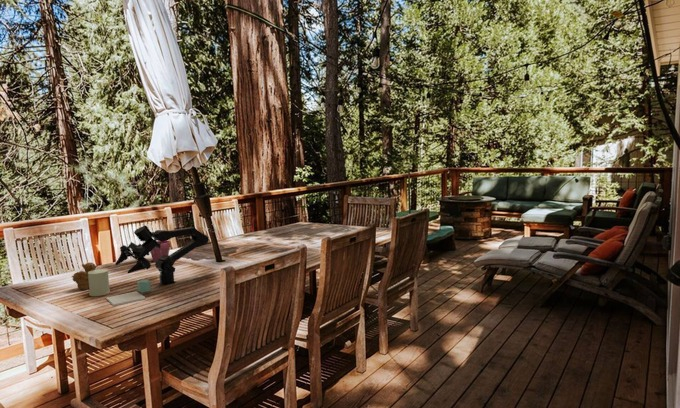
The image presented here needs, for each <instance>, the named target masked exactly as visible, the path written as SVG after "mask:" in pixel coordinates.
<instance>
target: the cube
mask: <svg viewBox="0 0 680 408" xmlns="http://www.w3.org/2000/svg"><path fill="white" fill-rule="evenodd" d="M136 283H137V285H136V286H137V292H138V293H140V294H142V293H148V292H151V291H152V289H151V285H152V284H151V280H149V279H143V280H138V281H137V282H136Z"/></svg>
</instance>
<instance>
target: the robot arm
mask: <svg viewBox="0 0 680 408" xmlns="http://www.w3.org/2000/svg"><path fill="white" fill-rule="evenodd" d="M133 234H134V235H135V236H136V237H137V239H138V240H139V241H140V242H143V243H142V244H141V243H138V244H136V243H135V242H132V241H131V242H130V243H129V244H128V246H127V245H126V244H125V245H121V246H120V247H119V249H120V255H119V257H118V259H117V261H116V262H115V266H118V265H120V264H122V263H123V262H124V261H126V260H128V259H129V257H132V258H133V259H134V260H136V263H135V264H134V265H133V266H132V267H131V268H130V269H129V270H128V271H127V274H131V273H136V272H138V271H143V270H144V271H145V270H149V269H150V268H151V266H152V264H151V263H150V260H148V259H147V258H146V256H149V255H150V253H151V251H152V250H153V249H154V248H155V247H156V248H161V246H160V245H161V243H158V242H157V241H162V242H164V241H170V240H171V239H174V238H177V237H185V236H189V237H191V240H190V241H189V242H188V243H187V244H184V245H183V246H182V247H180V248H178V249H177V250H176V251H174V252H173V253H171V254H169V255H163V256H161V257H160V258H158V260H157V261H156V262H154V263H155V264H154V265H155V268H156V269H157V270H158V272H159V273H160V274H159V275H158V276H159V278H158V279H159V283H160V284H161V285H162V286H163V285H165V286H166V285H169V284H174V283H176V281H175V274H174V273H175V271H176V267H175V266H174V265H175V263H176V262H177V261H178V260H180V259H181V258H183V257H184V256H186V255H187V254H189V253H190V252H193V250H195V249H197V248H199V247H203V246H205V245H208V243H209V240H210V239H209V236H208V235H206V234H204V233H202V232H201V231H199V230H198V229H196V228H195V227H193V226H188V227H184V228H183V227H182V228H179V229H178V228H177V229H171V230H165V229H158V230H157V229H156V230H155V231H151V230H150V229H149V228H148V226H147V225H146V224H145V225H143V226H140V227H138V228H136V229H135V230H134V231H133Z"/></svg>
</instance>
